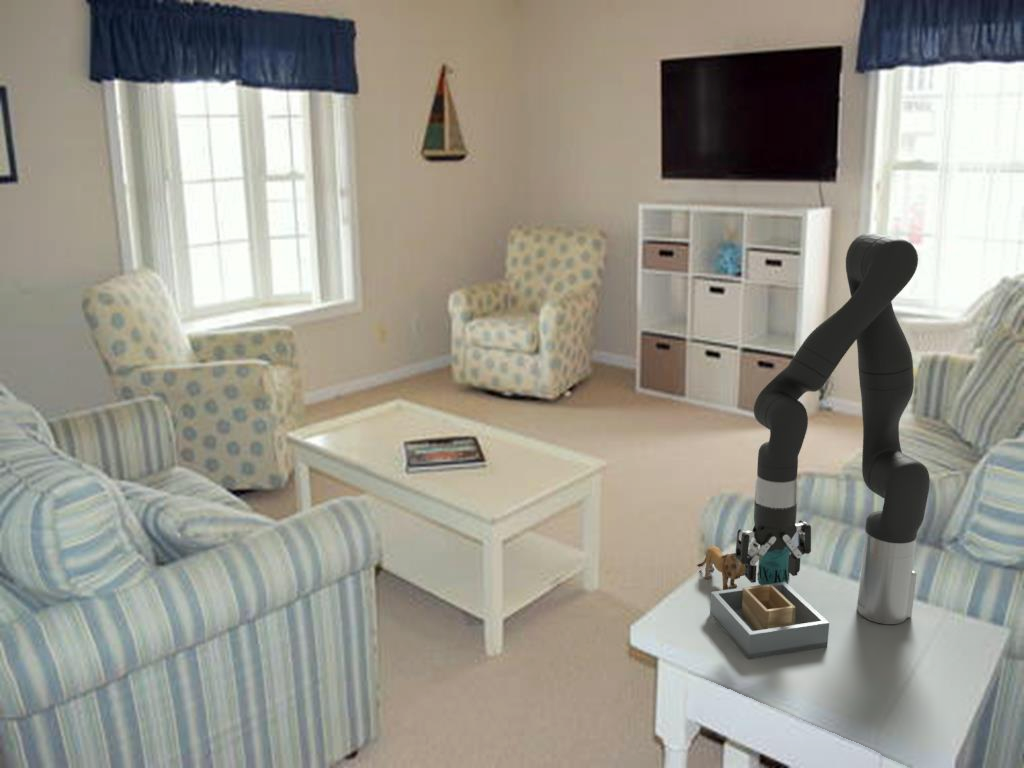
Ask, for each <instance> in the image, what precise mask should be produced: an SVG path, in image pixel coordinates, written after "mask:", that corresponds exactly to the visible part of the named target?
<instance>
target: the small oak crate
mask: <svg viewBox="0 0 1024 768" xmlns="http://www.w3.org/2000/svg"><path fill="white" fill-rule="evenodd" d="M754 586H755V587H751V586H747V587H748V588H744V587H742V588H743V599H742V615H741V616H742V617H743V618H744V619H745V620H746V621H747V622H748V623H749V624H750V626H751V627H752V628H753V629H754V630H755V631H757V630H763V629H770V628H777V627H783V626H790V625H794V621H795V609H796V607H795V606H794V605H793V604H792V603H791V602H790V601H788V600H787V599H786V598H785V597H784V596H783V595H782V594H781V593H780V592H779V591H778V590H777V589H776V588H775V587H774V586H773V585H772V584H770V585H763V586H758V585H754Z"/></svg>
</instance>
